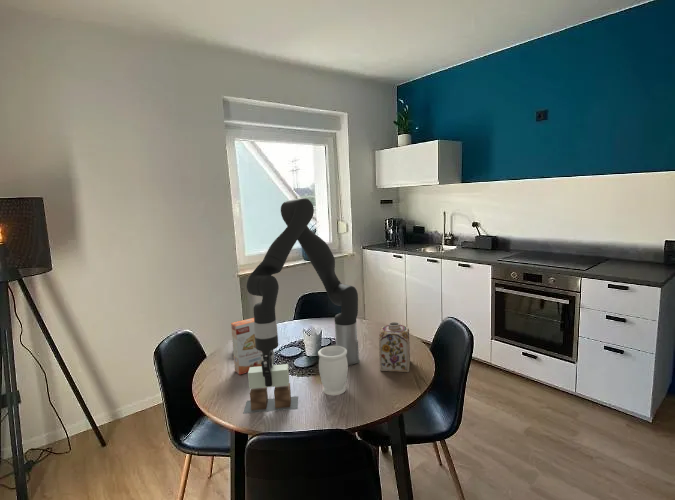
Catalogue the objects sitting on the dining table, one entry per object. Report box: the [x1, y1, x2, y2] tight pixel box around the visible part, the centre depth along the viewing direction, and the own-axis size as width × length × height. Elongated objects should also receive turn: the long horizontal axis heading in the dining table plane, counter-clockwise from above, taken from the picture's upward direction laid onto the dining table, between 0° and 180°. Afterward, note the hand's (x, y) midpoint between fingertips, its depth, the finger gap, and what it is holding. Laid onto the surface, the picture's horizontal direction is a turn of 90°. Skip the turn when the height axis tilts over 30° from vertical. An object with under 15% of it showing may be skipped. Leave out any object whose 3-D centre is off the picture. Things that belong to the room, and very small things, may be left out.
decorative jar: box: [378, 321, 411, 373], centre depth 153 cm, size 12×12×18 cm
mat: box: [242, 396, 299, 414], centre depth 128 cm, size 18×8×1 cm, turn 94°
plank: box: [247, 363, 290, 390], centre depth 127 cm, size 13×4×6 cm, turn 95°
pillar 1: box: [249, 387, 269, 410], centre depth 128 cm, size 5×5×6 cm
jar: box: [317, 345, 349, 396], centre depth 136 cm, size 11×10×15 cm
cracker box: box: [230, 317, 262, 376], centre depth 157 cm, size 14×6×21 cm, turn 126°
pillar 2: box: [273, 382, 292, 408], centre depth 128 cm, size 5×5×6 cm
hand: (269, 381), depth 127 cm, fingers closed on plank, 4 cm apart
